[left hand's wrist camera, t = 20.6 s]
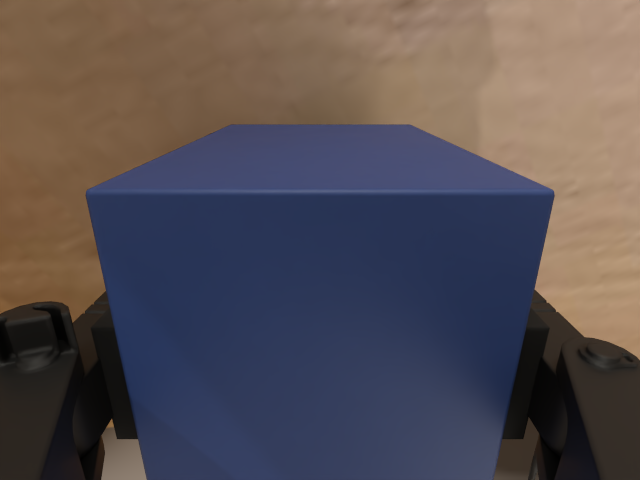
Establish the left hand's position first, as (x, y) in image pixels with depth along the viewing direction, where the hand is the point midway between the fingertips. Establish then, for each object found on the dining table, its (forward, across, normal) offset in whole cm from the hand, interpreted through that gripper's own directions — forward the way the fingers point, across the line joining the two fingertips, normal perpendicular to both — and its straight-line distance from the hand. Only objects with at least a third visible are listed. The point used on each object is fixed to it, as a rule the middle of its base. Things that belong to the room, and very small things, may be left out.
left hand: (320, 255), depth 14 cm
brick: (+3, 0, 0) cm, 3 cm away
